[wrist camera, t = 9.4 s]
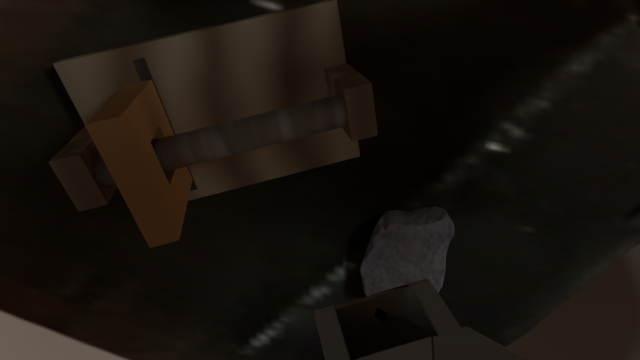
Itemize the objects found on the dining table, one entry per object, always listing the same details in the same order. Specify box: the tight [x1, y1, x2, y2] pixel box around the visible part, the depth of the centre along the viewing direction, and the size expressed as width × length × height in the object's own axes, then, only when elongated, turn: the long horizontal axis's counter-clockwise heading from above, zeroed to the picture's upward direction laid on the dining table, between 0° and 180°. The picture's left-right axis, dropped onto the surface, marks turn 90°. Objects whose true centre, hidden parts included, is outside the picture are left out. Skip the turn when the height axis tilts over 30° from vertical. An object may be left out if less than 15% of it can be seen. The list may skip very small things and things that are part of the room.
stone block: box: [359, 206, 455, 296], centre depth 44 cm, size 12×5×10 cm
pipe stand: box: [48, 0, 378, 212], centre depth 30 cm, size 22×14×8 cm, turn 101°
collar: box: [85, 79, 193, 248], centre depth 27 cm, size 2×9×9 cm, turn 10°
